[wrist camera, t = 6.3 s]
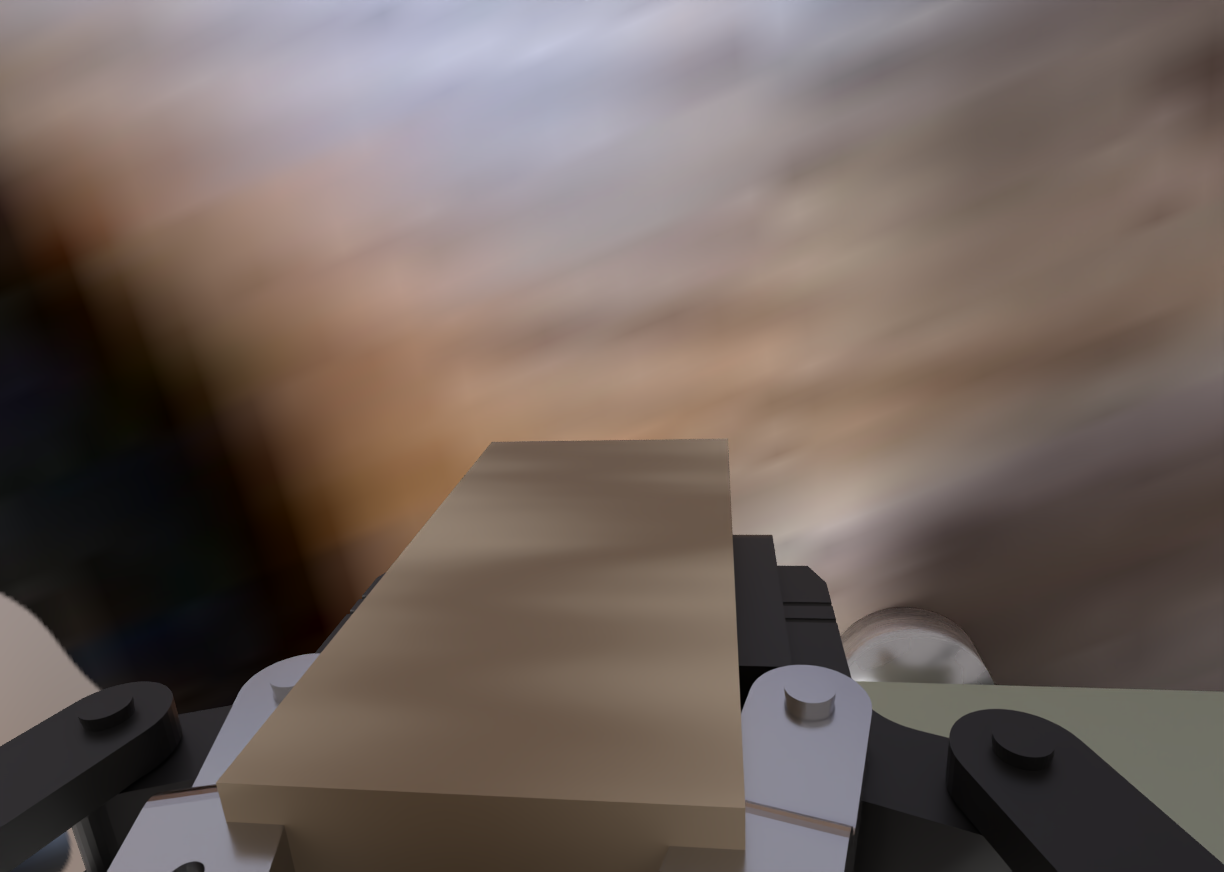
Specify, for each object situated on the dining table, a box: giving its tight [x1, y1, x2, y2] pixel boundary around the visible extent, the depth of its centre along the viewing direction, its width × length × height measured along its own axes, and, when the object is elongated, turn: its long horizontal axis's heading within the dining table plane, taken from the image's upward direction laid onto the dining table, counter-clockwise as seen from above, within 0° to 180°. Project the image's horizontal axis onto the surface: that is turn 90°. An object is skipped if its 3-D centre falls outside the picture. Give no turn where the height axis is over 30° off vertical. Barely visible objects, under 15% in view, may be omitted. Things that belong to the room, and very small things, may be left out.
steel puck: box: [840, 607, 994, 685], centre depth 27 cm, size 5×5×2 cm
